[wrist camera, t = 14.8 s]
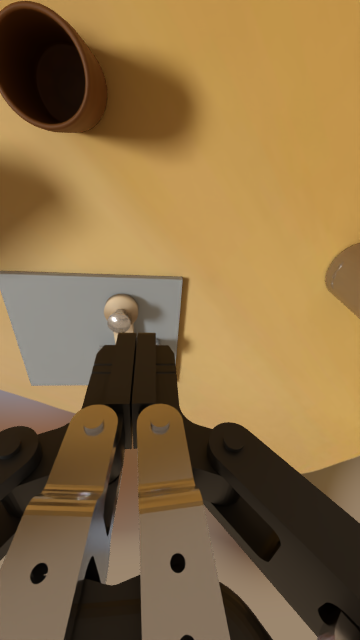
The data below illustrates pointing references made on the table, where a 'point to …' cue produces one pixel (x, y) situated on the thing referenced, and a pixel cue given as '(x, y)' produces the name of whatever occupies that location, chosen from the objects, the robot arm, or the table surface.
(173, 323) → the base plate
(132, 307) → the link
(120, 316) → the keeper
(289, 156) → the table surface
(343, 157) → the table surface
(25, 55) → the mug
